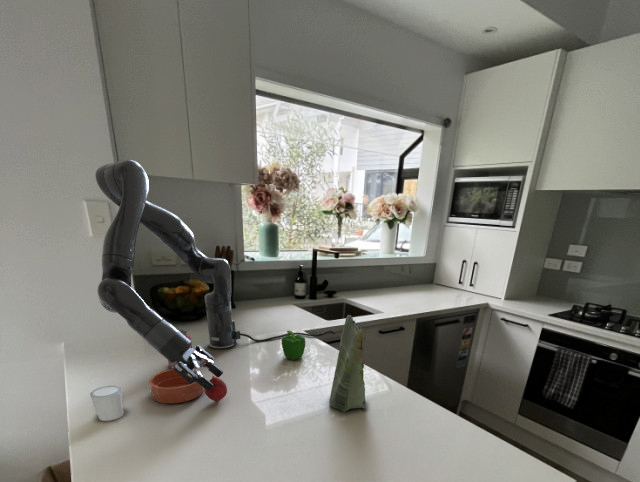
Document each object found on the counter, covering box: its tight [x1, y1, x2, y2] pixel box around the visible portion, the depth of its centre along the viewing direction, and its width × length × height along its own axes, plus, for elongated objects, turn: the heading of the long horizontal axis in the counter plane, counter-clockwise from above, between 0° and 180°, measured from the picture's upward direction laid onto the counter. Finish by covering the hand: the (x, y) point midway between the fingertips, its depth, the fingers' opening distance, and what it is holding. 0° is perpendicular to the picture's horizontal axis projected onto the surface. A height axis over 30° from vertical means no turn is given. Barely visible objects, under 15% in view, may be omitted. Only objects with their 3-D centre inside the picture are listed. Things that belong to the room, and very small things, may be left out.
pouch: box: [328, 314, 367, 413], centre depth 100 cm, size 11×12×25 cm
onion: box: [204, 374, 228, 403], centre depth 104 cm, size 6×6×8 cm
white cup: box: [89, 385, 125, 422], centre depth 96 cm, size 7×7×7 cm
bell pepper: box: [280, 329, 306, 361], centre depth 136 cm, size 8×8×10 cm
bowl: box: [148, 368, 205, 404], centre depth 108 cm, size 14×14×5 cm
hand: (216, 381), depth 103 cm, fingers open, 8 cm apart
